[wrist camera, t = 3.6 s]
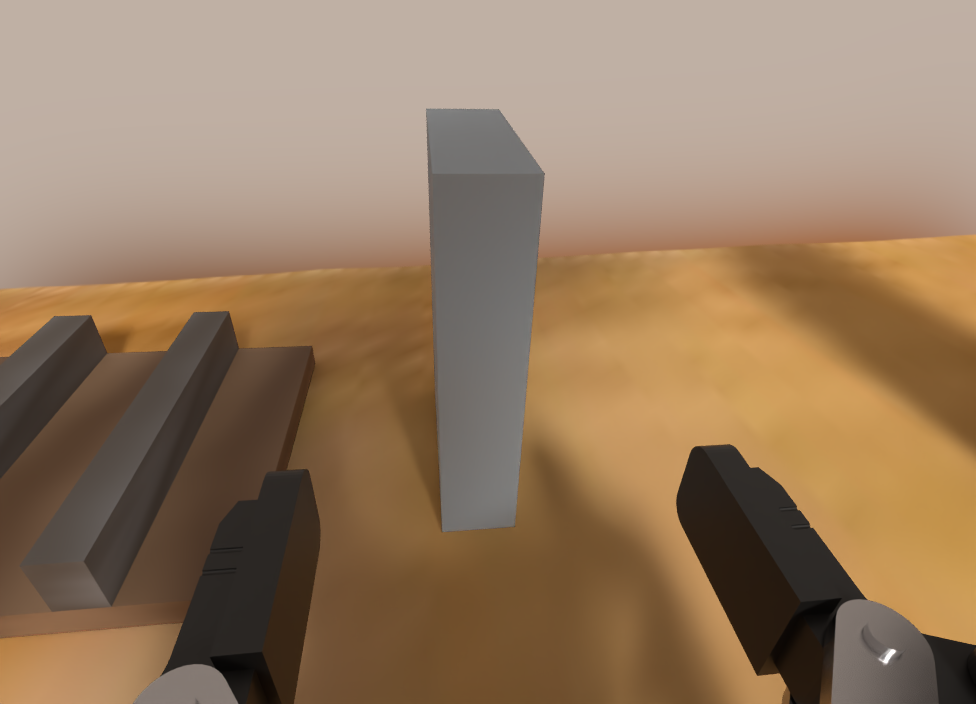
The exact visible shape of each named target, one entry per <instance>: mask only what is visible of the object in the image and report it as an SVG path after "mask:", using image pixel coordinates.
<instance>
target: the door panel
mask: <svg viewBox="0 0 976 704" xmlns="http://www.w3.org/2000/svg"><path fill="white" fill-rule="evenodd" d="M426 117H427V147H428V148H427V150H428V183H429V213H430V214H429V215H430V247H431V279H432V311H433V343H434V375H435V401H436V421H437V440H438V460H439V480H440V500H441V520H442V532H450V531H464V530H478V529H491V528H505V527H515V518H516V506H517V495H518V483H519V471H520V459H521V447H522V435H523V424H524V412H525V400H526V388H527V376H528V364H529V353H530V341H531V329H532V317H533V305H534V294H535V282H536V270H537V258H538V245H539V234H540V223H541V211H542V198H543V186H544V175H545V173H544V172H543V171H542V170H541V168H540V166H539V165H538V164H537V162H536V161H535V159H534V158H533V157H532V155H531V154H530V153H529V151H528V150H527V148H526V147H525V145H524V144H523V143H522V141H521V140H520V138H519V137H518V136H517V134H516V133H515V131H514V130H513V129H512V127H511V126H510V124H509V123H508V121H507V120H506V119H505V117H504V116H503V114H502V113H501V112H500V110H499V109H426Z"/></svg>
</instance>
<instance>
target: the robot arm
mask: <svg viewBox="0 0 976 704" xmlns="http://www.w3.org/2000/svg"><path fill="white" fill-rule="evenodd" d="M676 505H677V513H678V517H679V520H680V523H681V525H682V527H683V529H684V531H685V533H686V535H687V537H688V539H689V541H690V543H691V545H692V547H693V549H694V551H695V553H696V555H697V557H698V559H699V561H700V563H701V565H702V567H703V569H704V571H705V573H706V575H707V577H708V579H709V581H710V583H711V585H712V587H713V589H714V591H715V593H716V595H717V597H718V599H719V601H720V603H721V605H722V607H723V609H724V611H725V613H726V615H727V617H728V619H729V621H730V623H731V625H732V627H733V629H734V631H735V633H736V635H737V637H738V639H739V641H740V643H741V645H742V647H743V649H744V651H745V653H746V655H747V657H748V659H749V660H750V662H751V664H752V666H753V668H754V670H755V672H756V674H757V676H759V675H768V674H777V673H780V674H781V676H782V678H783V680H784V682H785V684H786V686H787V687H786V689H785V691H784V693H783V697H782V704H976V645H972V644H967V643H962V642H958V641H953V640H949V639H944V638H939V637H935V636H930V635H926V634H922V633H920V631H919V630H918V629H917V628H916V627H915V626H914V625H913V624H912V623H911V622H909V621H908V620H907V619H906V618H904V617H903V616H902V615H900V614H899V613H897V612H896V611H894V610H892V609H891V608H888V607H886V606H884V605H882V604H879V603H877V602H873V601H869V600H867V599H866V598H865V597H864V595H863V594H862V593H861V592H860V590H859V589H858V588H857V586H856V585H855V584H854V582H853V581H852V580H851V578H850V577H849V576H848V574H847V573H846V571H845V570H844V569H843V567H842V566H841V565H840V563H839V562H838V561H837V559H836V558H835V557H834V555H833V554H832V553H831V551H830V550H829V549H828V547H827V546H826V545H825V543H824V542H823V541H822V539H821V538H820V537H819V535H818V534H817V533H816V531H815V530H814V529H813V528H810V523H809V522H808V520H807V519H806V518H805V516H804V515H803V514H802V512H801V511H800V510H797V506H796V504H795V503H794V502H793V500H792V499H791V498H790V496H789V495H788V494H787V492H786V491H785V490H784V488H783V487H782V486H781V485H780V484H779V483H778V482H777V481H775V480H774V479H773V478H771V477H770V476H769V475H768V474H766V473H765V472H764V471H762V470H761V469H760V468H758V467H757V468H750V467H749V465H748V464H747V463H746V461H745V460H744V458H743V457H742V455H741V454H740V453H739V451H738V450H737V449H736V448H735V447H734V446H732V445H730V444H727V445H711V446H696V447H694V448H693V449H692V450H691V453H690V455H689V459H688V462H687V465H686V468H685V471H684V474H683V478H682V481H681V484H680V487H679V490H678V493H677V499H676ZM319 548H320V521H319V515H318V511H317V506H316V501H315V497H314V492H313V487H312V483H311V478H310V474H309V471H308V470H307V469H301V470H285V471H269V472H267V473H266V475H265V477H264V480H263V483H262V487H261V490H260V493H259V496H258V500H244V501H238V502H237V503H236V504H235V506H234V507H233V508H232V509H231V510H230V511H229V513H228V514H227V515H226V516H225V517H224V519H223V520H222V521H221V522H220V523H219V525H218V528H217V531H216V534H215V536H214V539H213V542H212V545H211V547H210V554H208V556H207V558H206V561H205V564H204V567H203V569H202V576H200V578H199V580H198V583H197V586H196V589H195V591H194V594H193V597H192V600H191V602H190V605H189V608H188V611H187V613H186V616H185V619H184V622H183V624H182V627H181V630H180V633H179V635H178V638H177V641H176V644H175V646H174V649H173V652H172V655H171V657H170V660H169V662H168V664H167V666H166V668H165V670H164V671H163V673H162V675H161V676H160V677H159V678H158V679H156V680H155V681H154V682H152V683H151V684H150V685H149V686H148V687H147V688H146V689H144V690H143V691H142V693H141V694H140V695H139V696H138V697H137V698H136V700H135V701H134V703H133V704H294V698H295V692H296V686H297V681H298V675H299V669H300V663H301V657H302V651H303V645H304V639H305V633H306V627H307V621H308V615H309V609H310V603H311V597H312V591H313V585H314V579H315V573H316V567H317V561H318V555H319Z"/></svg>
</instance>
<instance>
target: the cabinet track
mask: <svg viewBox="0 0 976 704" xmlns="http://www.w3.org/2000/svg"><path fill="white" fill-rule="evenodd" d="M314 365H315V360H314V355H313V349H312V346H297V347H269V348H241V349H239V347H238V343H237V340H236V336H235V332H234V328H233V325H232V321H231V317H230V313H229V311H225V312H194V313H193V315H192V316H191V317H190V319H189V320H188V322H187V323H186V325H185V326H184V328H183V329H182V331H181V332H180V333H179V335H178V336H177V338H176V339H175V341H174V342H173V344H172V345H171V346H170V348H169V349H168V351H158V352H130V353H107V351H106V349H105V347H104V344H103V342H102V340H101V337H100V335H99V333H98V330H97V328H96V326H95V323H94V321H93V319H92V316H91V315H86V316H54V317H53V318H52V319H51V320H50V321H49V322H47V323H46V324H45V325H44V326H43V327H42V328H41V329H40V330H39V331H37V332H36V333H35V334H34V335H33V336H32V337H31V338H30V339H29V340H27V341H26V342H25V343H24V344H23V345H22V346H21V347H20V348H19V349H17V350H16V351H15V352H14V353H13V354H12V355H11V356H10V357H0V638H7V637H19V636H30V635H42V634H53V633H65V632H76V631H88V630H99V629H111V628H122V627H134V626H145V625H157V624H168V623H180V622H184V619H185V616H186V613H187V611H188V608H189V605H190V602H191V600H192V597H193V594H194V591H195V589H196V586H197V583H198V580H199V578H200V576H202V569H203V567H204V564H205V561H206V558H207V556H208V554H210V547H211V545H212V542H213V539H214V536H215V534H216V531H217V528H218V525H219V523H220V522H221V521H222V520H223V519H224V517H225V516H226V515H227V514H228V513H229V511H230V510H231V509H232V508H233V507H234V506H235V504H236V503H237V502H238V501H244V500H258V496H259V493H260V490H261V487H262V483H263V480H264V477H265V475H266V473H267V472H269V471H285V470H286V469H287V466H288V462H289V458H290V455H291V451H292V447H293V443H294V440H295V436H296V432H297V428H298V425H299V421H300V417H301V414H302V410H303V406H304V402H305V399H306V395H307V391H308V388H309V384H310V380H311V376H312V373H313V369H314Z"/></svg>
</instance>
